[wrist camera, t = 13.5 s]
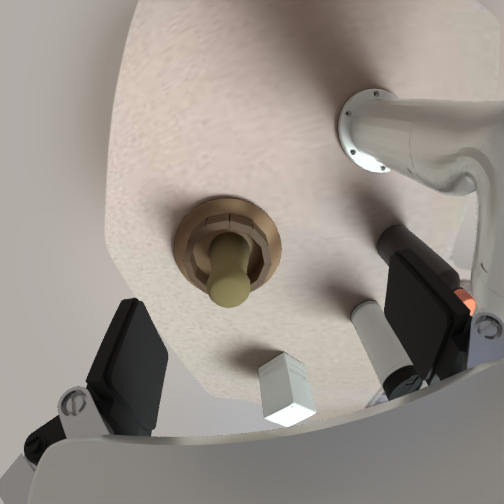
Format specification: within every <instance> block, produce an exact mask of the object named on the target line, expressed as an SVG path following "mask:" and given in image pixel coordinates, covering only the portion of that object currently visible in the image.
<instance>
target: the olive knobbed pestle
mask: <svg viewBox="0 0 504 504" xmlns="http://www.w3.org/2000/svg"><path fill="white" fill-rule="evenodd" d="M249 254H250V247H249V244H248V242H247V240H246V239H245V238H244V237H243V236H241V235H239V234H237V233H233V232H225V233H222V234H219V235H217V236H216V237H215V238H214V239H213V240H212V242H211V243H210V247H209V255H210V264H211V272H212V273H211V275H210V276H209V278H208V281H207V292H208V295H209V297H210V298H211V300H212V301H213V302H215V303H216V304H217V305H219V306H221V307H226V308H231V307H236V306H239V305H240V304H242V303H243V302H244V301H245V300H246V299H247V298H248V296H249V292H250V289H251V288H250V280H249V278H248V276H247V274H246V272H247V266H248V260H249Z"/></svg>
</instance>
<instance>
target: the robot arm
mask: <svg viewBox="0 0 504 504" xmlns="http://www.w3.org/2000/svg"><path fill="white" fill-rule="evenodd" d="M374 93H375V95H374ZM346 112H347V113H348V114H347V115H346ZM338 132H339V139H340V142H341V145H342V147H343V149H344V151H345V153H346V154H347V156H348V157H349V158H350V160H352V161H353V162H354V163H355V164H356V165H358V166H359V167H361V168H362V169H365V170H367V171H370V172H374V173H385V172H389V171H392V170H393V171H395V172H397V173H400V174H402V175H404V176H406V177H408V178H410V179H412V180H414V181H417V182H419V183H421V184H423V185H425V186H427V187H429V188H431V189H433V190H435V191H436V192H439V193H441V194H443V195H447V196H452V197H457V196H464V195H467V194H470V193H472V192H474V191H476V194H477V224H476V236H475V245H474V253H473V262H472V270H471V290H472V295H473V298H474V301H475V303H476V304H477V306H478V308H479V309H480V310H481V311H482V313H478V314H476V315H475V316H474V317H473V318H472V316H471V315H470V312H471V310H470V309H469V308H468V307H467V306H466V305H465V304H464V303H463V301H462V300H461V299H460V298H459V297H458V296H457V295H456V294H455V293H454V292H453V291H452V290H451V289H450V287H449V286H448V285H447V284H446V283H445V282H444V281H443V280H442V279H441V278H440V277H439V276H438V275H437V274H436V273H435V272H434V271H433V270H432V269H431V268H430V267H429V266H428V265H427V264H426V263H425V262H424V261H423V260H422V259H421V258H420V257H419V256H418V255H416V254H415V253H414V252H413V251H412V250H411V249H410V248H403V249H398V250H395V251H394V253H393V255H391V256H390V262H389V273H388V283H387V292H386V300H385V307H384V315H385V318H386V320H387V321H388V323H389V325H390V326H391V328H392V330H393V331H394V333H395V335H396V336H397V338H398V340H399V341H400V343H401V345H402V346H403V348H404V350H405V351H406V353H407V355H408V357H409V358H410V360H411V362H412V364H413V365H414V367H415V369H416V371H417V373H418V374H419V376H420V378H421V379H422V380H426V382H427V384H428V387H425V388H423V389H420V390H417V391H415V392H412V393H410V394H407V395H405V396H402V397H399V398H396V399H394V400H391V401H388V402H385V403H382V404H379V405H376V406H373V407H369V408H366V409H363V410H359V411H356V412H352V413H349V414H345V415H341V416H337V417H333V418H329V419H325V420H321V421H316V422H312V423H307V424H302V425H297V426H291V427H286V428H279V429H274V430H266V431H259V432H251V433H241V434H231V435H217V436H198V437H151V432H152V430H153V429H155V427H156V422H157V416H158V410H159V404H160V399H161V393H162V388H163V382H164V377H165V371H166V367H167V362H168V352H167V349H166V347H165V345H164V343H163V341H162V339H161V338H160V336H159V334H158V332H157V330H156V328H155V326H154V324H153V322H152V320H151V318H150V316H149V313H148V311H147V309H146V307H145V305H144V303H143V302H142V301H139V300H138V299H137V298H131V299H124V300H122V301H121V303H120V305H119V307H118V309H117V311H116V313H115V315H114V317H113V319H112V322H111V324H110V326H109V328H108V330H107V332H106V334H105V336H104V339H103V341H102V343H101V345H100V348H99V350H98V352H97V355H96V357H95V360H94V362H93V364H92V366H91V369H90V372H89V374H88V376H87V379H86V382H87V387H86V388H84V387H80V386H77V387H73V388H71V389H69V390H67V391H66V392H65V393H64V394H63V395H62V396H61V398H60V400H59V403H58V413H59V415H58V416H56V417H55V418H53V419H52V420H50V421H49V422H47V423H46V424H45V425H43V426H42V427H40V428H39V429H37V430H36V431H34V432H33V433H31V434H30V435H29V436H28V438H27V439H26V442H25V445H24V453H25V455H23V454H20V456H19V457H18V458H17V459H16V460H15V462H14V463H13V464H12V465H11V466H10V468H9V469H8V470H7V471H6V473H5V474H4V475H3V476H2V478H1V479H0V497H1V499H2V500H3V502H4V503H5V504H504V101H484V102H470V101H451V100H434V99H399V98H398V97H397V96H395V95H394V94H392V93H390V92H388V91H385V90H382V89H367V90H363V91H360V92H358V93H356V94H354V95H353V96H352V97H351V98H350V99H348V101H347V102H346V103H345V105H344V106H343V109H342V111H341V113H340V117H339V123H338ZM350 150H352V152H351V153H350Z"/></svg>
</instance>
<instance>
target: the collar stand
mask: <svg viewBox="0 0 504 504" xmlns="http://www.w3.org/2000/svg"><path fill="white" fill-rule="evenodd" d="M225 232H233V233H237V234H239V235H241V236H243V237H244V238H245V239H246V240H247V242H248V244H249V247H250V254H249V260H248V266H247V272H246V274H247V276H248V278H249V280H250V288H251V289H250V292H252V291H254V290H256V289H258V288H259V287H261V286H262V285H263V284H265V283H266V282H267V281H268V280H269V279H270V278H271V277H272V275H273V274H274V272H275V271H276V269H277V267H278V264H279V262H280V258H281V250H282V247H281V239H280V235H279V233H278V230H277V227H276V226H275V224H274V222H273V221H272V219H271V218H270V217H269V216H268V215H267V214H266V213H265V212H264V211H263V210H262V209H260V208H259V207H258V206H256V205H254V204H252V203H250V202H247V201H244V200H240V199H234V198H221V199H215V200H211V201H208V202H205V203H203V204H201V205H199V206H198V207H196V208H195V209H193V210H192V211H191V212H190V213H189V214H188V215H187V216H186V217H185V218H184V220H183V221H182V223H181V225H180V226H179V228H178V231H177V234H176V237H175V242H174V254H175V259H176V262H177V265H178V267H179V269H180V271H181V272H182V274H183V275H184V276H185V278H186V279H187V280H188V281H189V282H190V283H192V284H193V285H194V286H195V287H197V288H199V289H200V290H202V291H203V292H205V293H206V294H208V292H207V281H208V278H209V276H210V275H211V273H212V272H211V264H210V255H209V247H210V243H211V242H212V240H213V239H214V238H215V237H216V236H217V235H219V234H222V233H225ZM250 292H249V293H250Z"/></svg>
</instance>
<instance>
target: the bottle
mask: <svg viewBox="0 0 504 504" xmlns="http://www.w3.org/2000/svg"><path fill="white" fill-rule="evenodd" d="M403 248H410V249H411V250H412V251H413V252H414V253H415V254H416V255H418V256H419V257H420V258H421V259H422V260H423V261H424V262H425V263H426V264H427V265H428V266H429V267H430V268H431V269H432V270H433V271H434V272H435V273H436V274H437V275H438V276H439V277H440V278H441V279H442V280H443V281H444V282H445V283H446V284H447V285H448V286H449V287H450V289H451V290H452V291H453V292H454V293H455V294H456V295H457V296H458V297H459V298H460V299H461V300H462V301H463V303H464V304H465V305H466V306H467V307H468V308H469V309H470V310H471V312H470V315H471V316H472V314H473V312H474V310H475V301H474V299H473V298H472V296H471V295H470V294H469V293H468V292H467V291H466V290H465V289H463V288H462V287H460V278H459V275H458V273H457V272H456V271H455V270H454V269H453V268H452V267H451V266H450V265H449V264H448V263H447V262H445V261H444V260H443V259H442V258H441V257H440V256H439V255H438V254H436V253H435V252H434V251H433V250H432V249H431V248H430V247H428V246H427V245H426V244H425V243H424V242H423V241H421V240H420V239H419V238H418V237H417V236H415V235H414V234H413V233H412V232H410V231H409V230H408V229H407V228H406V227H403V226H400V225H396V226H392V227H390V228H388V229H387V230H386V231H385V232H384V233H383V234H382V236H381V238H380V240H379V243H378V252H379V254H380V256H381V258H382V259H383V260H384V261H385V262H386V264H387V265H388V266H389V262H390V256H391V255H393V253H394V251H395V250H398V249H403Z"/></svg>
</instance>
